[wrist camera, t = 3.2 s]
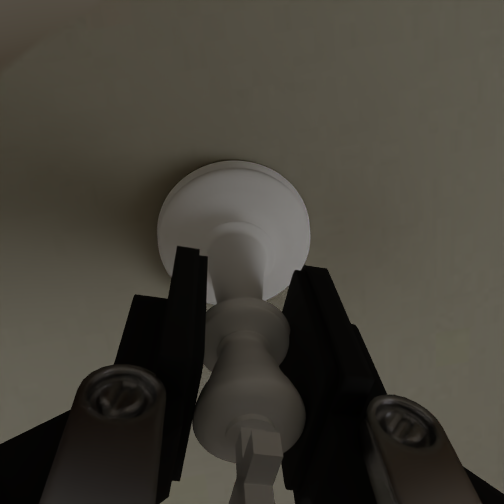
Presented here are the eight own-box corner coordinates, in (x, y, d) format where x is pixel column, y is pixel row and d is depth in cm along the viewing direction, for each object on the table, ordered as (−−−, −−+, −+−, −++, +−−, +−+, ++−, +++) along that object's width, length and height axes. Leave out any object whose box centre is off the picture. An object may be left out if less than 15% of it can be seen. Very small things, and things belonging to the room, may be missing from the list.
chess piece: (328, 177, 15) (495, 426, 6) (287, 308, 17) (367, 637, 8) (169, 144, 14) (88, 375, 5) (148, 286, 16) (64, 623, 7)
